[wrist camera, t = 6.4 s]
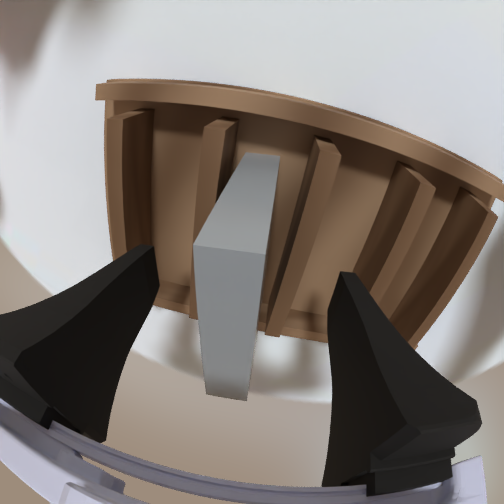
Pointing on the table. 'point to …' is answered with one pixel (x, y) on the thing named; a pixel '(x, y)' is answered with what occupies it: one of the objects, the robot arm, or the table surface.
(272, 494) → the robot arm
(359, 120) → the dish rack
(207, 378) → the grey upright slab
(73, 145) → the table surface
